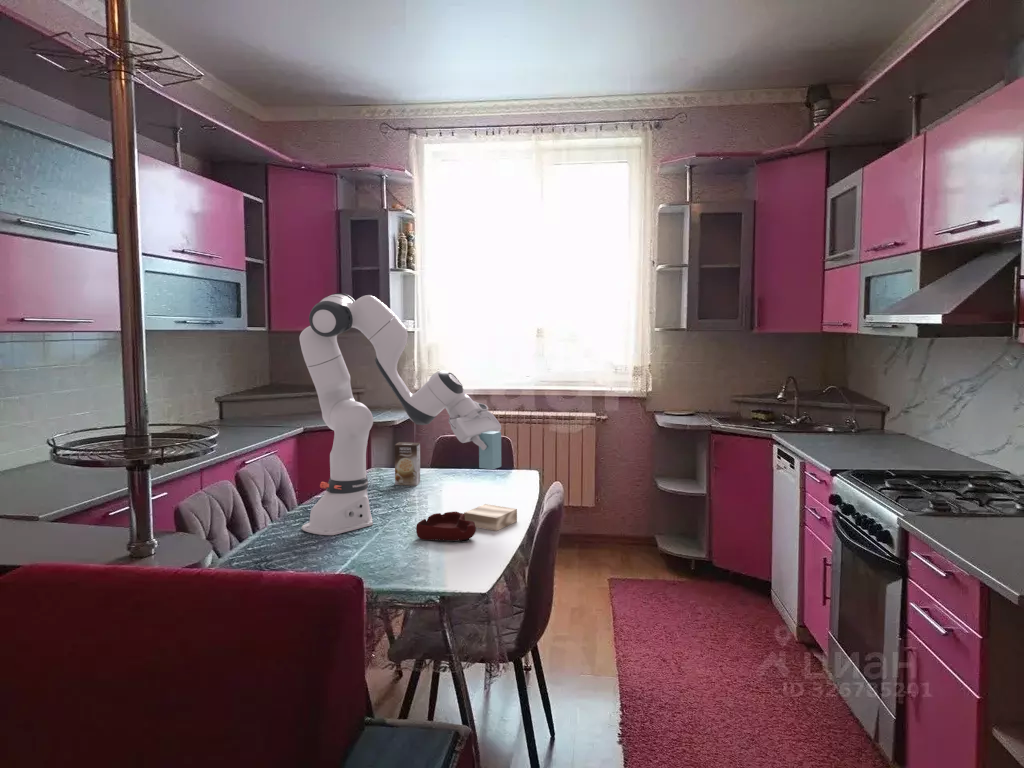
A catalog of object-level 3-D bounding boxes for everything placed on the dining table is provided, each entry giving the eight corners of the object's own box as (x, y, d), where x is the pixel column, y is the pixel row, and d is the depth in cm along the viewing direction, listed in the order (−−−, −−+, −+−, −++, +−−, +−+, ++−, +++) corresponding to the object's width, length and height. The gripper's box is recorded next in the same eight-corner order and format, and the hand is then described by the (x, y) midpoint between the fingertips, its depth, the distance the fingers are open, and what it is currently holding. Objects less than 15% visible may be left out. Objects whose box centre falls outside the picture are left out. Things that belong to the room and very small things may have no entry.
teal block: (492, 469, 212) (492, 434, 211) (479, 467, 214) (478, 432, 213) (501, 466, 216) (501, 431, 215) (488, 464, 218) (487, 430, 217)
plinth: (496, 531, 208) (496, 518, 208) (464, 525, 214) (463, 512, 214) (516, 521, 218) (516, 508, 218) (485, 516, 225) (485, 504, 224)
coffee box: (394, 485, 269) (393, 444, 267) (398, 481, 275) (397, 441, 274) (417, 485, 268) (416, 445, 266) (421, 482, 274) (420, 442, 273)
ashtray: (409, 531, 209) (409, 515, 208) (461, 525, 215) (460, 510, 214) (424, 549, 192) (423, 532, 192) (479, 542, 198) (479, 525, 198)
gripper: (451, 410, 208) (478, 445, 204) (489, 404, 226) (514, 436, 221) (440, 424, 211) (466, 459, 207) (477, 416, 228) (503, 448, 224)
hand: (491, 447), depth 214 cm, fingers closed on teal block, 5 cm apart
